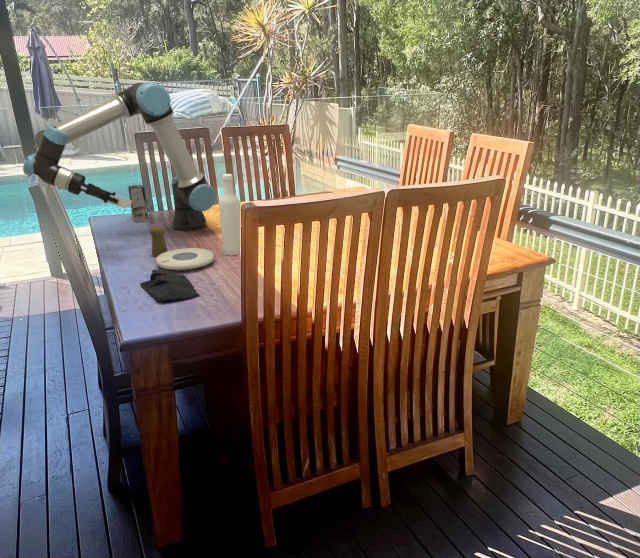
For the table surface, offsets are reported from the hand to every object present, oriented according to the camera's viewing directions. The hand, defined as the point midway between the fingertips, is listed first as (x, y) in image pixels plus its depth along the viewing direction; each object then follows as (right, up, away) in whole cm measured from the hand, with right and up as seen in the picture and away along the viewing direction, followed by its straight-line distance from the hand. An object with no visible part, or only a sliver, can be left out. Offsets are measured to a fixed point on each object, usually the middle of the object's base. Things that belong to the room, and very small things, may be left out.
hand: (129, 205), depth 196 cm
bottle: (+38, -18, +6) cm, 42 cm away
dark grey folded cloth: (+24, -32, -29) cm, 49 cm away
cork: (+10, -19, +5) cm, 22 cm away
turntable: (+23, -21, -7) cm, 32 cm away
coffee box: (-15, 0, +55) cm, 57 cm away
